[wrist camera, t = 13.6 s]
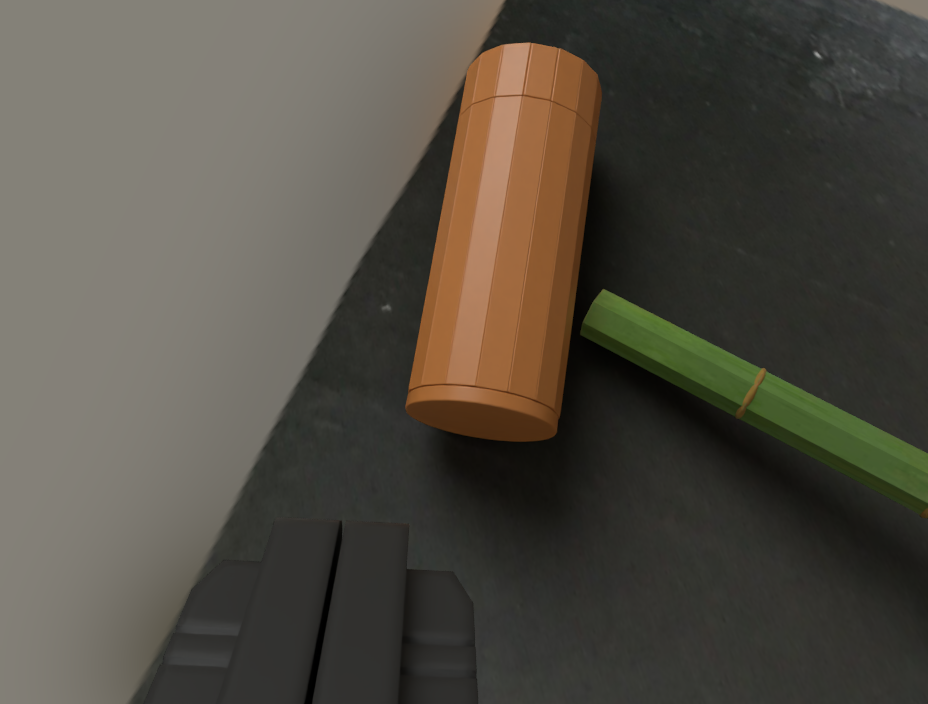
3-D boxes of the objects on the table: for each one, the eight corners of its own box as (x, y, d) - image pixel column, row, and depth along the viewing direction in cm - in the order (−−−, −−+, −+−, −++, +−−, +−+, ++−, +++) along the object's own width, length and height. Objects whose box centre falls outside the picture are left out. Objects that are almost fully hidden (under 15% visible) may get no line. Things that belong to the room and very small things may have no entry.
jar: (537, 407, 29) (589, 38, 33) (381, 395, 31) (449, 47, 35) (569, 447, 34) (610, 122, 39) (434, 434, 36) (487, 126, 41)
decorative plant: (641, 223, 36) (1469, 619, 28) (611, 328, 43) (1263, 668, 35) (569, 327, 33) (1461, 798, 25) (550, 420, 41) (1240, 811, 32)
